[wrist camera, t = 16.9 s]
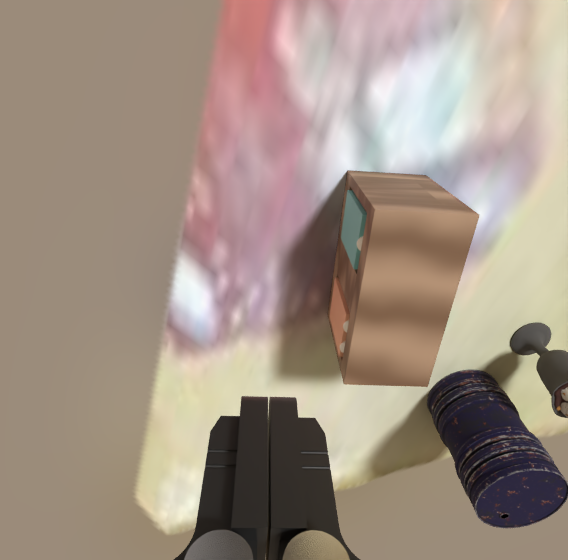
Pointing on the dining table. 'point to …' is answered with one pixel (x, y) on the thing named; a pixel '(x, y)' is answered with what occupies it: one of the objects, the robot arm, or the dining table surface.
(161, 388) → the dining table surface
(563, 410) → the sundae
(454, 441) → the dark blue barrel
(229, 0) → the dining table surface
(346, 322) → the terracotta button
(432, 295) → the walnut console
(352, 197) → the grey-green piece
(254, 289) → the dining table surface
